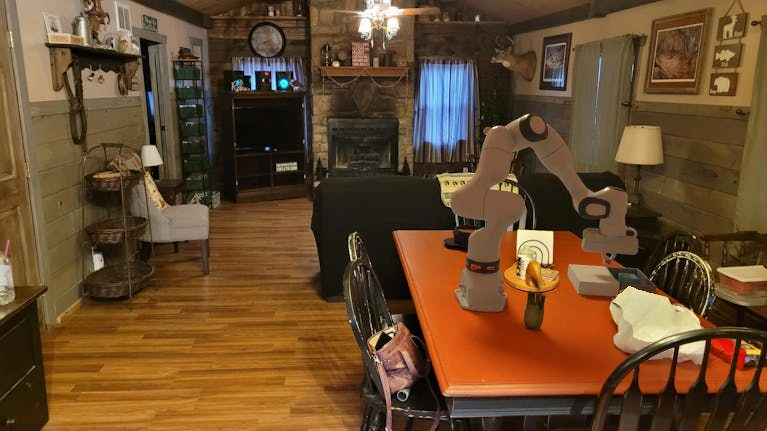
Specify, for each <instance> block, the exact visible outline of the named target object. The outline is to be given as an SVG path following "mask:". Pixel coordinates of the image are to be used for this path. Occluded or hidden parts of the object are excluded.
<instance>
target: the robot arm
mask: <svg viewBox="0 0 767 431" xmlns="http://www.w3.org/2000/svg"><path fill="white" fill-rule="evenodd" d="M527 148H530V149H532V150H533V151H534V153H535V155H536V157H537V158H538V159H539V161H540V162H541V164H542V165H543V166H544V168H546V169H547V170H548V171H549V172H550V173H551V174H553V175H555V176H556V177H557V178H559V180H560V181H561V182H562V183H563V186H565V188H566V189H567V191H568V193H569V194H570V196H571V202H572V206H573V209H574V210H575V211H576V213H578V215H579V216H580V217H581V218H583V219H584V220H588V221H598V220H599V227H586V228H585V229H583V231H582V240H581V241H582V242H581V246H580V247H581V250H583V251H584V252H585V253H586V252H587V253H588V252H591V253H600V255H601V257H602V264H604V265H612V264H613V260H614V259H615V258H616V256H617V254H619V255H630V256H631V255H632V256H634V255H635V256H636V255H637V253H638V252H639V239H638V238H637V237H638V231H637V230H636V229H634V228H633V227H631V226H629V225H628V226H627V225H626V218H625V217H626V214H627V212H628V201H629V196H628V193H627V192H626V190H624V189H622V188H620V187H617V186H611V185H610V186H609V185H608V186H606V187H605V188H603V189H600V190H598V191H596V192H595V191H594V190H592V189H590V188H588V187H587V186H586V185H585V184H584V183H583V181H582V179H581V178H580V176H579V175H578V173H577V172H576V170H575V168H574V158H573V156H572V153H571V151H570V148H569V146H568V145H567V143H566V142H565V141H564V139H563V138H562V137H561V135H560V134H559V133H558V131H556V130H555V129H554V128H553V127H552V126H551V125H550V124H548V123H547V122H546V120H545V119H544V117H543V116H541V115H539V114H538V113H533V112H532V113H527V114H524V115H523V116H521V117H519V118H517V119H515V120H512V121H511V122H510V123H508V124H507V125H505V126H502V125H498V126H497V125H496V126H493V127H491V128H490V129H489V130H488V132H487V133H486V136H485V137H484V141H483V144H482V146H481V152H480V156H479V159H478V165H477V167H476V170H475V173H474V174H473V176H472V177H471V178H470V180H468V182H466V183H465V184H463V185H462V186H460V187H458V188H456V189H455V190H454V191H453V193H451V196H450V200H449V205H450V209H451V211H452V213H453V214H454V215H456V216H459V217H462V218H465V219H471V220H479V221H481V220H482V221H485V222H486V226H483V228H481V229H478V230H476V231H474V232H473V233H471V235H470V236H469V242H468V249H467V255H466V258H465V267H464V269H462V270H461V272H460V281H459V282H460V283H459V288H457V289H455V290H454V291H453V292H454V296H455V298H456V299H457V301H458V303H459V305H460V307H461V308H462V309H465V310H469V311H475V312H482V313H485V312H487V313H498V312H503V311H504V309H505V305H506V302H507V298H508V294H507V292H505V289H506V288H505V286H503V285H504V283H505V280H504V279H503V272H501V271H500V266H501V259H500V250H501V242H502V240H503V236H504V234H505V232H506V231H507V230H508V229H509V228H510V227H511V226H512V225H514V224H515V223H517V222H518V221H519V220H520V219H521V218H522V217H523V216H524V215H525V210H526V204H525V200H524V198H523V197H522V195H521V194H520V193H516V192H513V191H508V190H502V189H492V188H493V187H494V186H496V185H498V184H501V183H503V182H504V181H506V180H507V179H508V177H509V175H510V168H511V163H512V159H513V154H515V153H517V152H519V151H521V150H524V149H527ZM607 254H610V255H611V256H610V257H609V258H606V255H607Z"/></svg>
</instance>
